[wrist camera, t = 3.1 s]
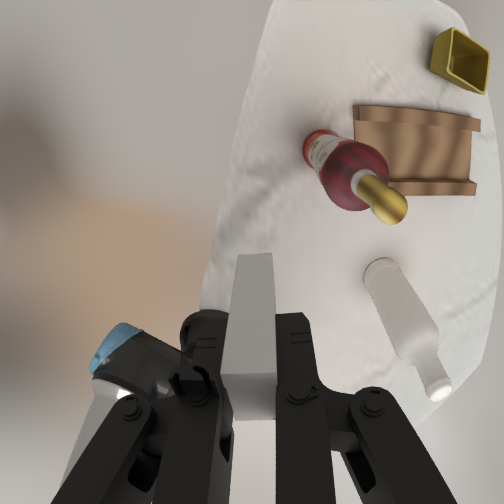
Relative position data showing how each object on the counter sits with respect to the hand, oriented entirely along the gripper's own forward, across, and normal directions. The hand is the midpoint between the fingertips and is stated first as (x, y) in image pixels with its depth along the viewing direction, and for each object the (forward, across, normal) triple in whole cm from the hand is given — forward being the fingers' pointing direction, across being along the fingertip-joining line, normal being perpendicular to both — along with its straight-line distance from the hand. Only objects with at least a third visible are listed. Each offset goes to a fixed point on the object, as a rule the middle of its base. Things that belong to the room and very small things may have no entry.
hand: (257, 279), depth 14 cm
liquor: (+36, +10, 0) cm, 38 cm away
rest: (+36, +28, 0) cm, 46 cm away
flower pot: (+36, +34, +17) cm, 53 cm away
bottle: (+36, +22, -25) cm, 49 cm away
